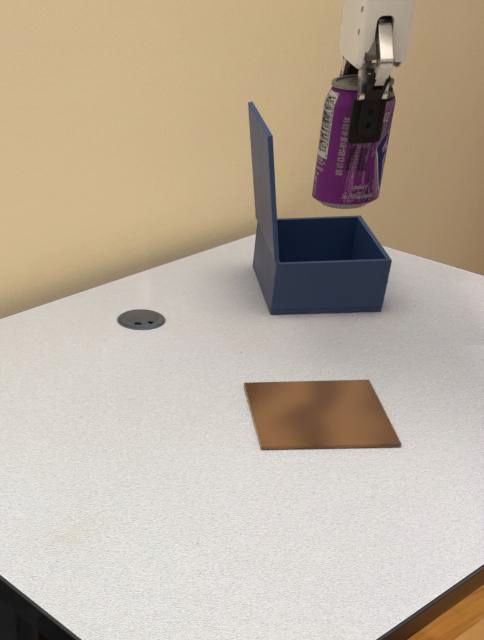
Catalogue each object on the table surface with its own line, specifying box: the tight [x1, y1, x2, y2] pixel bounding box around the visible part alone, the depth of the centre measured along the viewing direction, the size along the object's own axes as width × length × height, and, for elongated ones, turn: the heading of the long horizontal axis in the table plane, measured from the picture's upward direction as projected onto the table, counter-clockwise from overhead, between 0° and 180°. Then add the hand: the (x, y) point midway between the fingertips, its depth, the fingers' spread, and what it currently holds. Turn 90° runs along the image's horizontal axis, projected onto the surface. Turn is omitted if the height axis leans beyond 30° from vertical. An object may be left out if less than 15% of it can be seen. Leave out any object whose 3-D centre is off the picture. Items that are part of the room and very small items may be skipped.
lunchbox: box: [252, 214, 393, 316], centre depth 120 cm, size 14×17×7 cm
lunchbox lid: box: [247, 101, 279, 261], centre depth 114 cm, size 15×17×1 cm
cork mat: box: [243, 379, 402, 450], centre depth 96 cm, size 14×14×1 cm
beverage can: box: [311, 73, 396, 210], centre depth 96 cm, size 7×7×12 cm
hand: (355, 131), depth 95 cm, fingers closed on beverage can, 7 cm apart
